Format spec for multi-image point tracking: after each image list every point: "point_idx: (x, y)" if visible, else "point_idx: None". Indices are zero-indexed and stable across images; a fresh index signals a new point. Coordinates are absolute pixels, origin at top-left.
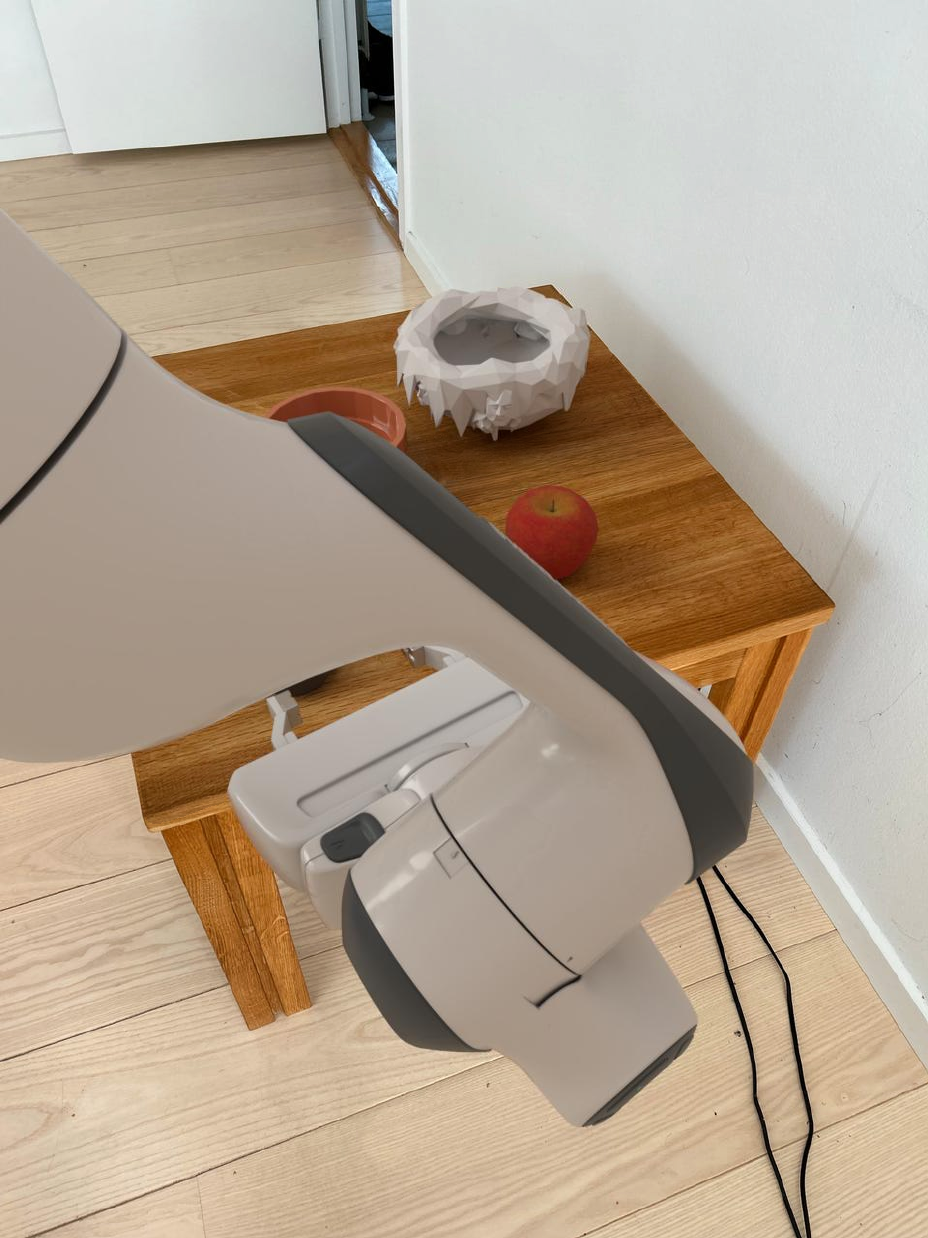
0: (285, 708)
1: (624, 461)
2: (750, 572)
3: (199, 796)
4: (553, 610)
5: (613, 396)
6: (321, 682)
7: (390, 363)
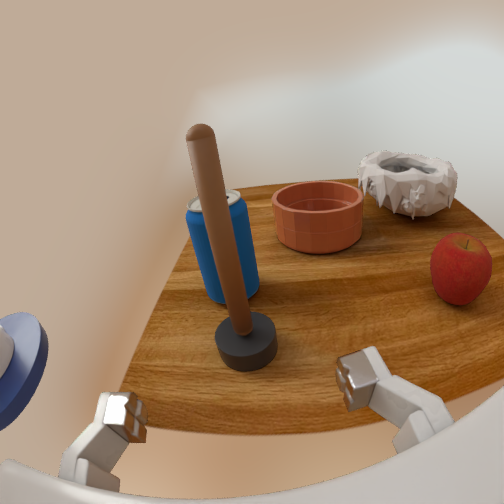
0: (106, 420)
1: None
2: None
3: None
4: None
5: (463, 212)
6: (263, 365)
7: None
